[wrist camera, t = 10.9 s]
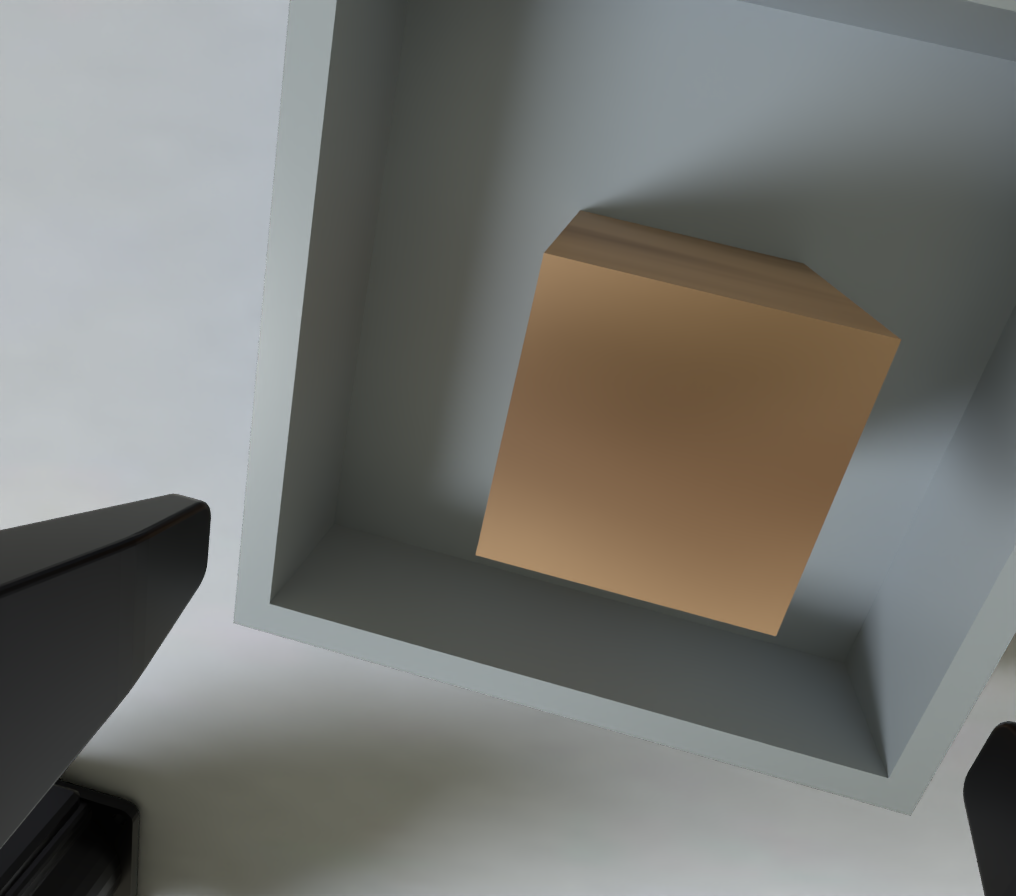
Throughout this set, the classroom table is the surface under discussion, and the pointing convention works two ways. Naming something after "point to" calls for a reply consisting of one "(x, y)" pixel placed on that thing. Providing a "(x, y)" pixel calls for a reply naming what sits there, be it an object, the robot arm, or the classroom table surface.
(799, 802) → the classroom table surface
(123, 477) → the classroom table surface
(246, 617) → the bin
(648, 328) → the tan wooden block
